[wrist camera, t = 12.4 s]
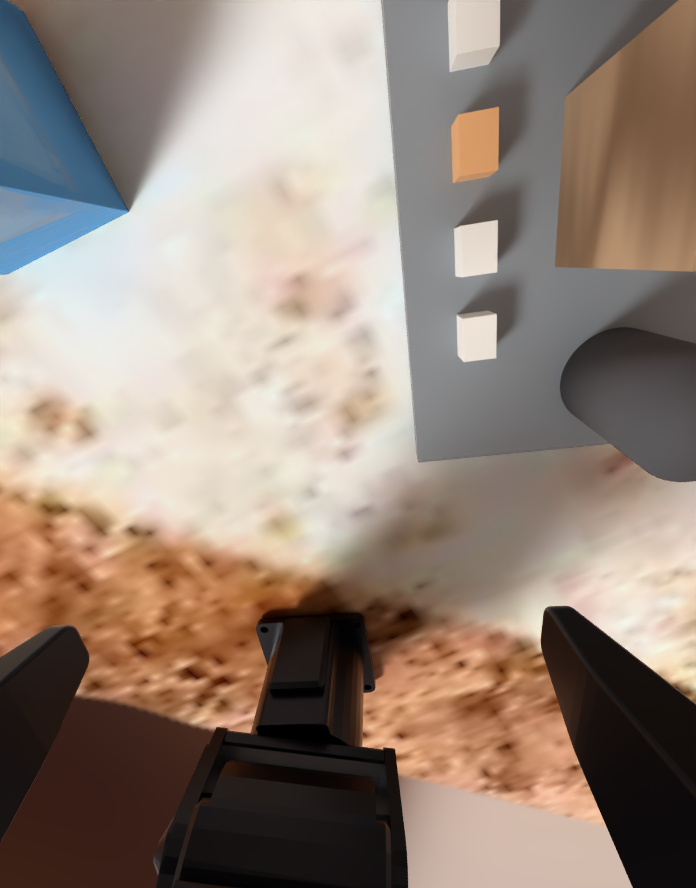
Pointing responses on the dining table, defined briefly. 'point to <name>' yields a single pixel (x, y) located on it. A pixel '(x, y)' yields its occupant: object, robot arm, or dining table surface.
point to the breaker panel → (503, 218)
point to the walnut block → (633, 155)
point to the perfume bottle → (43, 155)
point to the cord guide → (638, 397)
